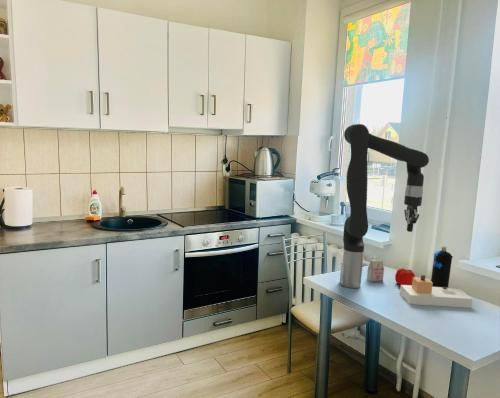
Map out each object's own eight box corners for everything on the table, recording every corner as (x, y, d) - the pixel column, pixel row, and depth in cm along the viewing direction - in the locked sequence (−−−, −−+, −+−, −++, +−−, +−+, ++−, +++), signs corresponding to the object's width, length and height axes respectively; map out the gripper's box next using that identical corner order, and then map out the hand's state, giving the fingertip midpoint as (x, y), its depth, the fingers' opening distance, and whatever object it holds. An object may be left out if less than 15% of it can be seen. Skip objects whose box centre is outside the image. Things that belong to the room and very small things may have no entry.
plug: (415, 297, 170) (418, 277, 169) (411, 292, 176) (413, 272, 174) (430, 298, 170) (433, 278, 169) (425, 293, 176) (428, 273, 174)
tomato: (416, 288, 186) (418, 273, 185) (398, 287, 186) (399, 272, 185) (409, 281, 195) (411, 267, 194) (391, 280, 196) (393, 266, 194)
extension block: (409, 303, 167) (410, 293, 167) (399, 293, 179) (400, 283, 179) (471, 307, 167) (472, 297, 166) (457, 296, 178) (458, 287, 178)
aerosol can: (444, 284, 194) (449, 245, 191) (451, 290, 186) (456, 249, 183) (427, 282, 195) (432, 243, 192) (433, 289, 187) (438, 248, 184)
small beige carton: (366, 279, 196) (368, 259, 194) (378, 278, 198) (380, 259, 196) (371, 281, 192) (373, 262, 191) (382, 280, 194) (384, 261, 193)
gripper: (400, 192, 189) (396, 227, 192) (410, 196, 176) (406, 234, 178) (416, 193, 189) (412, 228, 191) (427, 197, 176) (423, 235, 178)
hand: (409, 231), depth 185 cm, fingers closed
